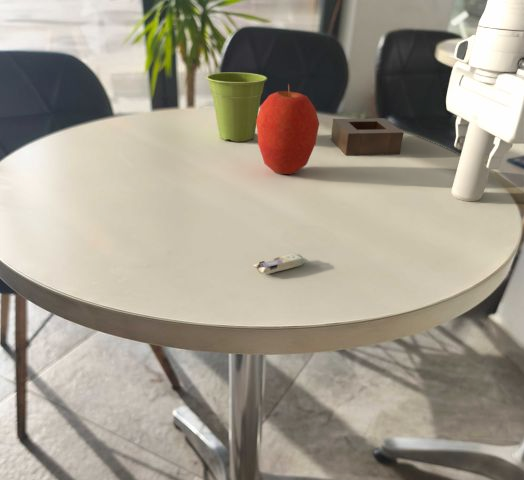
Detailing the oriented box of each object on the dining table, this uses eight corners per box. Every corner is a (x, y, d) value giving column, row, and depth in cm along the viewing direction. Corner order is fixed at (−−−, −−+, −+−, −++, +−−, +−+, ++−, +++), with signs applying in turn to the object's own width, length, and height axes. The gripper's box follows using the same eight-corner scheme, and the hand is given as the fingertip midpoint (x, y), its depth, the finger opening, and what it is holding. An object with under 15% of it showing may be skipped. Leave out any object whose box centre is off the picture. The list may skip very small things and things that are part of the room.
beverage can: (486, 202, 78) (511, 120, 70) (455, 202, 77) (478, 120, 70) (475, 191, 81) (498, 112, 74) (446, 190, 81) (466, 111, 74)
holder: (381, 138, 105) (384, 118, 103) (399, 154, 97) (404, 132, 94) (330, 139, 104) (333, 118, 101) (345, 155, 95) (348, 133, 93)
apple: (258, 182, 82) (259, 89, 74) (253, 163, 90) (254, 77, 82) (319, 181, 83) (327, 90, 75) (309, 162, 91) (316, 77, 82)
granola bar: (299, 257, 61) (299, 249, 61) (309, 265, 60) (310, 257, 59) (251, 269, 59) (251, 261, 58) (260, 277, 57) (260, 270, 57)
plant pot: (277, 138, 103) (279, 77, 96) (234, 149, 96) (234, 85, 89) (239, 127, 110) (238, 69, 103) (196, 136, 103) (193, 75, 96)
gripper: (575, 66, 59) (532, 181, 68) (489, 44, 75) (463, 139, 84) (527, 65, 59) (490, 181, 67) (450, 43, 74) (428, 139, 83)
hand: (474, 157), depth 76 cm, fingers open, 8 cm apart
